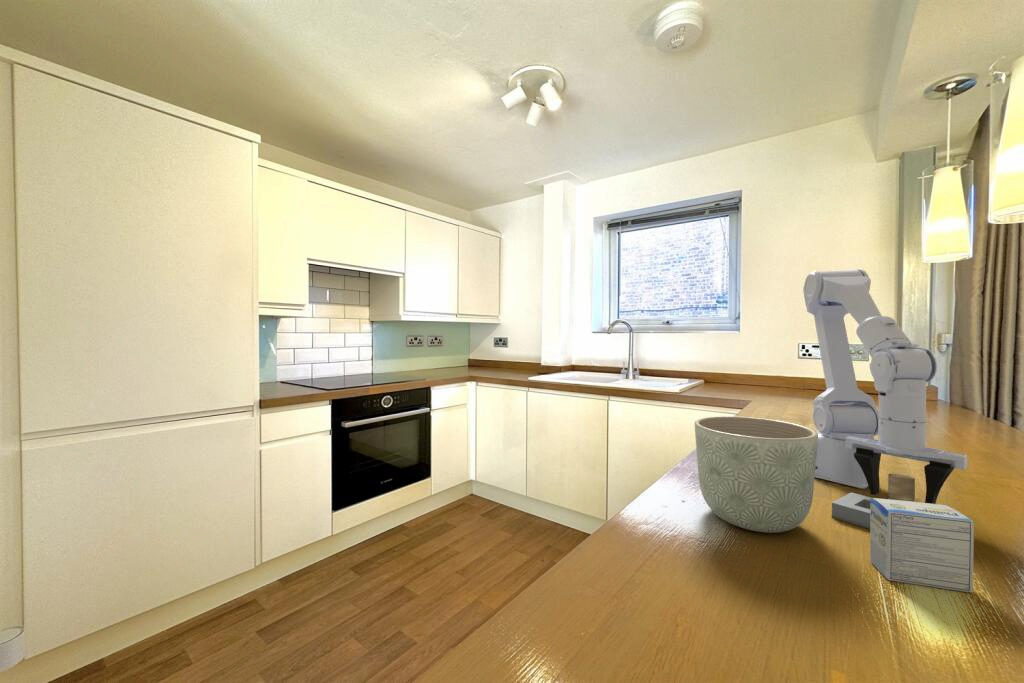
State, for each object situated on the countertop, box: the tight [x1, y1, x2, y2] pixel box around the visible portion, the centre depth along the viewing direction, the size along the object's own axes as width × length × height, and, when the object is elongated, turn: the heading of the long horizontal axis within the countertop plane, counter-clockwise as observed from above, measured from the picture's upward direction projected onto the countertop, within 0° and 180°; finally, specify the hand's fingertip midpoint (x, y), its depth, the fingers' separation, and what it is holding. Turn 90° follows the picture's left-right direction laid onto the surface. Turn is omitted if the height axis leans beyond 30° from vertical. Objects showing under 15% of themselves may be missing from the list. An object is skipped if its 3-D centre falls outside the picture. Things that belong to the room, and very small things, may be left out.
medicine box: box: [869, 497, 975, 593], centre depth 49 cm, size 8×4×9 cm, turn 71°
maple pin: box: [887, 473, 916, 502], centre depth 67 cm, size 3×3×6 cm
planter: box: [694, 415, 819, 534], centre depth 64 cm, size 17×17×15 cm
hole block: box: [831, 492, 873, 530], centre depth 64 cm, size 9×8×2 cm
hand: (901, 500), depth 67 cm, fingers open, 6 cm apart
